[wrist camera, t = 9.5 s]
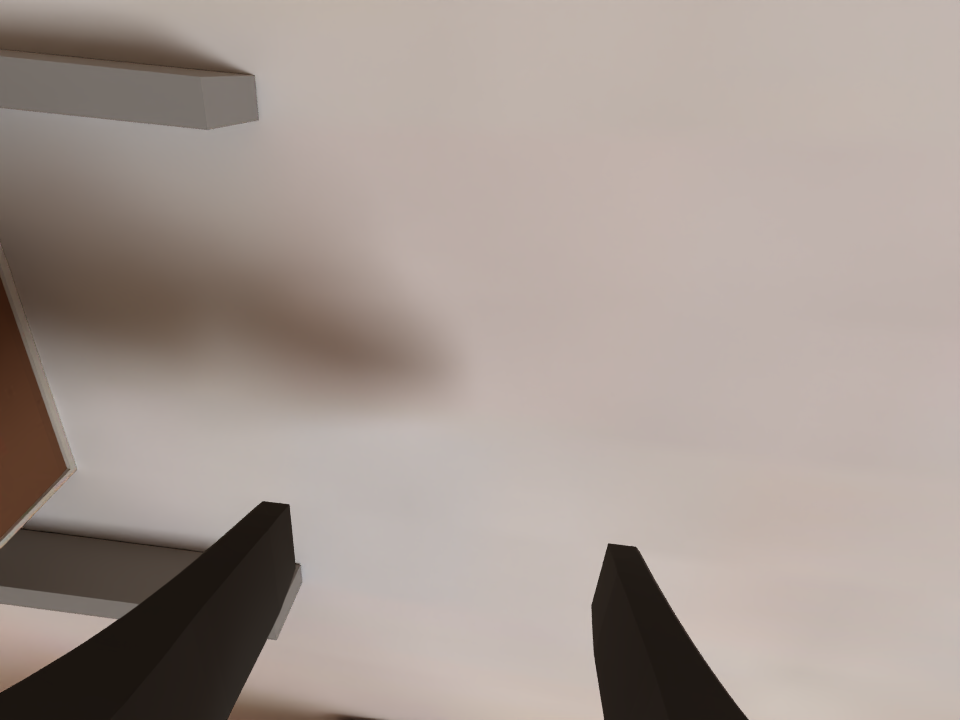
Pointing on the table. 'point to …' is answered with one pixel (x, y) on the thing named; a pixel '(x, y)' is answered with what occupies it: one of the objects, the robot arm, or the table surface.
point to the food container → (25, 419)
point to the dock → (135, 98)
